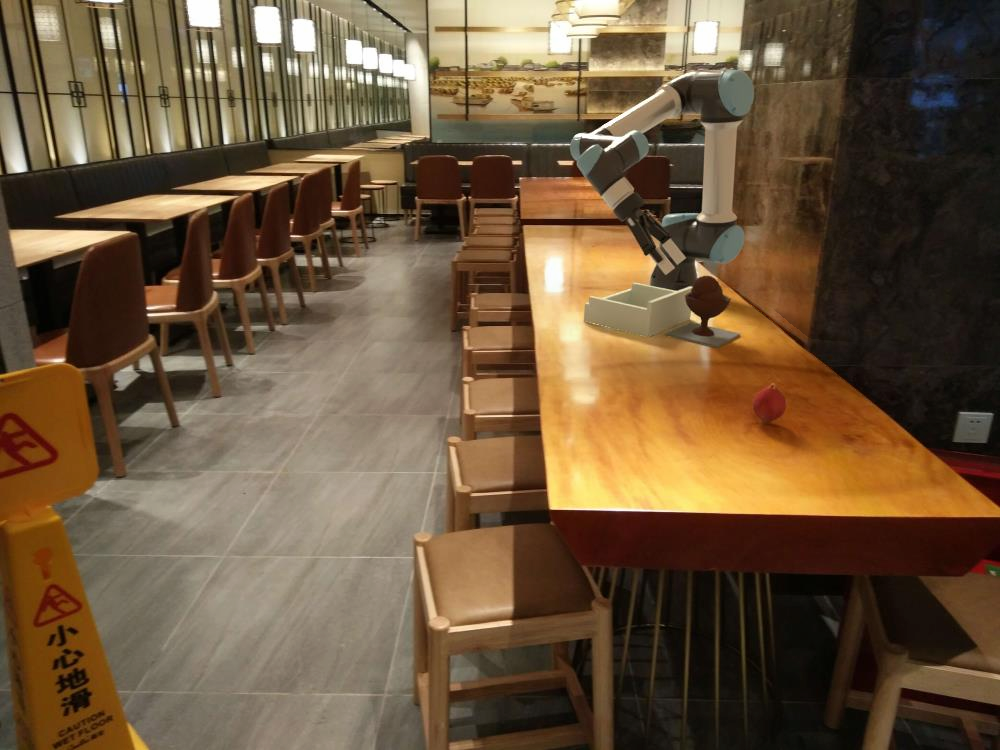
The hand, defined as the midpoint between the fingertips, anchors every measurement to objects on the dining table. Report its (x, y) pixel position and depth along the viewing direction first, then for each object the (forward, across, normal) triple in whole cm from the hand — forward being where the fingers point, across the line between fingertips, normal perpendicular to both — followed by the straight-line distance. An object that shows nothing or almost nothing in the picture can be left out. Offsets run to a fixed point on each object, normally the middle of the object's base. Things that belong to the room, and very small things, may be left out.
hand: (676, 266), depth 187 cm
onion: (+33, +50, +9) cm, 60 cm away
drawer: (+5, -5, -19) cm, 20 cm away
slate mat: (+18, 0, -6) cm, 19 cm away
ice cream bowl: (+18, 0, -6) cm, 19 cm away
